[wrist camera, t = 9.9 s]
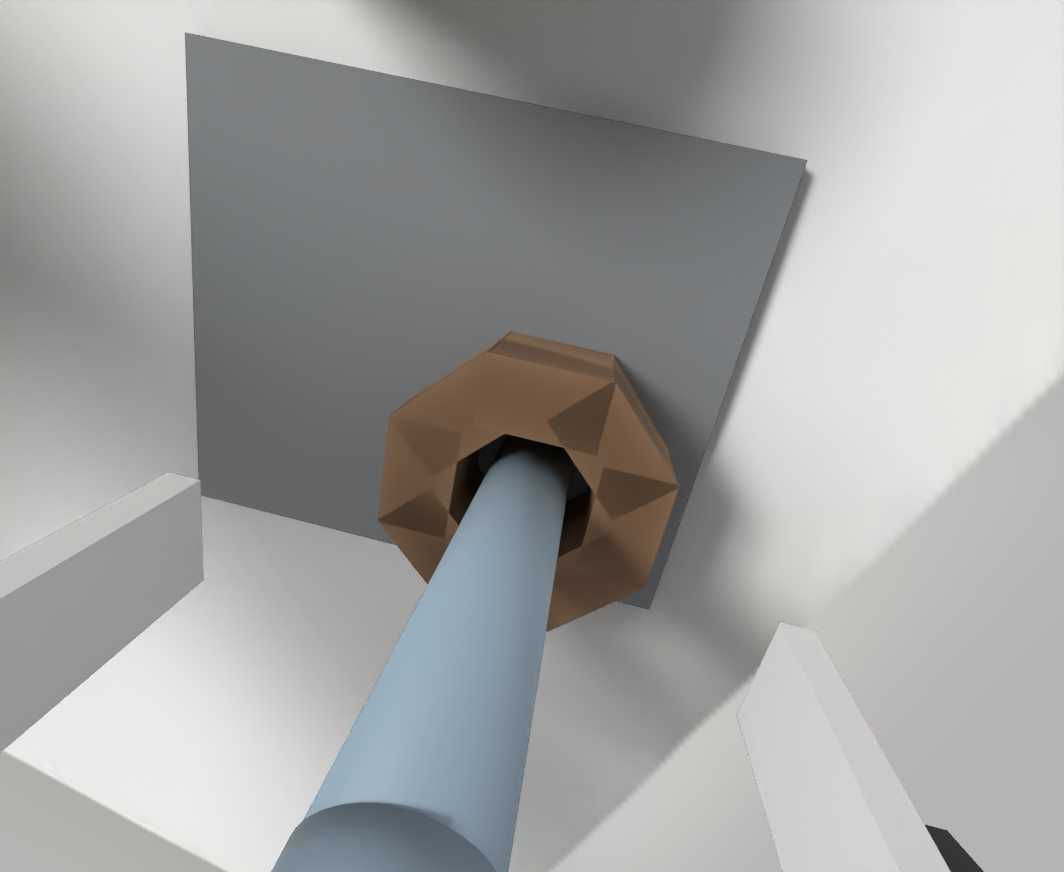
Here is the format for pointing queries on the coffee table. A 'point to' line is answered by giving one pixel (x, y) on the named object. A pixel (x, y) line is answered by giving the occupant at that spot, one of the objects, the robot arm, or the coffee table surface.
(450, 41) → the coffee table surface
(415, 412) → the bead
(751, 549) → the coffee table surface
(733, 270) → the mat
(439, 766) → the blue rounded-end rod
